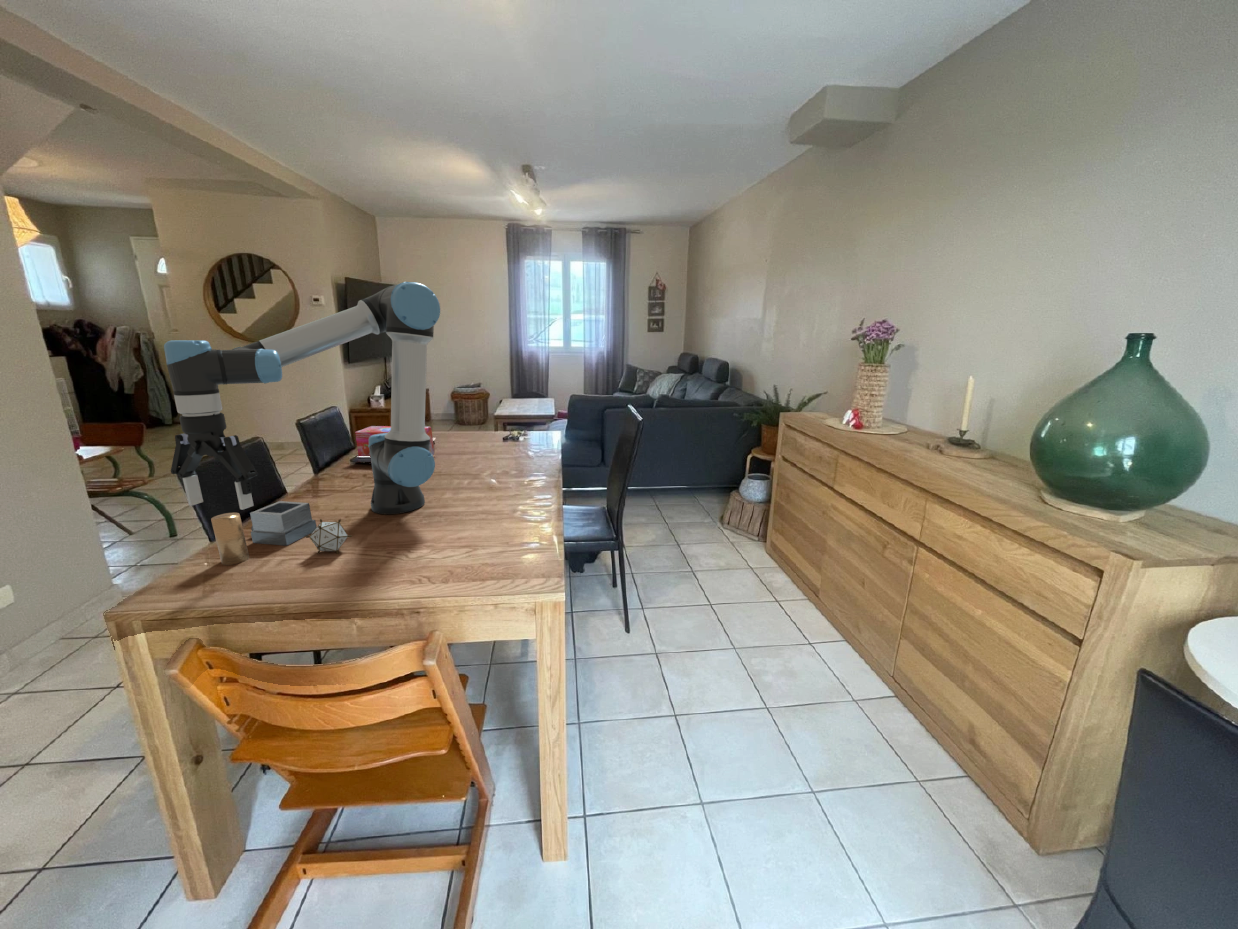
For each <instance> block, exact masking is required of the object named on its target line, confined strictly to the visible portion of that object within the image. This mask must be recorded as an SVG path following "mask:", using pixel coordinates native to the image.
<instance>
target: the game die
mask: <svg viewBox="0 0 1238 929" xmlns="http://www.w3.org/2000/svg"><path fill="white" fill-rule="evenodd" d="M341 521H342V519H341V518H340V519H338V521H323V519H322V518H319V524H318V525H316V526H317V528H316V529H315V530H314V531H313V532H312V533H311V534H309V535H307V536H305V537H304V538H306V539H308V538H309V539H310V541H311V542H312V543H313V545H314V546H315V548H316V549H317V550H318V551H317V552H316V554H317V555H318V554H320V553H321V552H335V553H336V554H337V555H339V554H340V552H339V550H340V548H341V547H342V546H343V544H344V543H345V542H346V540H348V538H351V537H353V535H351V534H349V535H348V533H347V531H346V530H345V528H344V527H343V525H342V524H341Z"/></svg>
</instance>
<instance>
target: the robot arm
mask: <svg viewBox="0 0 1238 929" xmlns="http://www.w3.org/2000/svg"><path fill="white" fill-rule="evenodd" d="M440 316H441V306H440V302H439V299H438V296H437V295H436V294H435V293H434V291H433V290H432V289H431V288H429V287H428V286H426V285H425V284H423V283H420V282H414V281H403V282H399V283H398V284H393V285H389V286H387V287H385V288H384V289H381V290H380V291H378V292H376V293H374V294H373V295H370V296H367V297H365V298H362V299H360V300H358V301H357V305H355V306H353V307H349V308H348V309H344V310H342V311H339V312H336V313H334V314H333V313H332V314H329V315H328V316H325V317H322V318H319V319H316V320H313V321H311V322H307V323H305V324H302V325H299V326H296V327H294V328H291V329H288V330H285V331H283V332H280V333H276V334H274V335H271V336H267V337H266V338H263V339H260V340H258V341H254V342H252V343H249V344H246V345H243V346H237V347H234V348H232V349H214V348H213V349H212V346H211V344H210V342H209V341H208V340H202V339H201V340H197V339H196V340H189V339H186V340H184V339H183V340H182V339H181V340H175V339H174V340H168V341H166V342H165V343H164V345H163V350H164V354H165V361H166V367H167V371H168V375H169V376H168V377H169V380H170V383H171V388H172V391H173V397H174V398H173V399H174V402H175V407H176V411H177V413H178V414H180V416H179V418H178V419H179V423H180V426H181V427H180V428H181V431H182V432H183V433H180V434H175V436H174V439H175V446H174V447H175V448H174V451H173V452H174V453H173V457H172V463H171V467H170V473H171V474H172V475H177V476H178V477H179V478H180V479H181V483H182V487H183V489H184V491H185V495H186V499H187V503H188V506H190V507H191V506H195V505H197V504H201V503H204V499H203V494H202V490H201V485H200V482H199V477H198V474H197V472H196V469H198V466H199V464H200V462H201V460H202V459H203V456H208V457H213V458H215V459H217V460H219V461H220V463H221V464H222V465H223V466H224V467H225V468H226V469H227V470H228V471H229V472H230V473H231V475H232V476H234V478H235V481H234V486H235V491H236V495H237V496H236V497H237V500H238V506H239V510H243V511H244V510H245V509H249V508H251V507H254V506H255V505H254V501H253V500H254V499H253V497H252V493H253V487H252V481H251V479H253V478H255V477H257V476H258V475H259V473H258V471H257V469H256V468H255V466H254V464H253V463H252V461H251V460H250V458H249V457H248V455H247V453H246V451H245V450H244V448H243V447H242V445H241V442H240V439H239V436H238V435H235V434H234V435H231V436H230V435H229V436H225V433H224V431H225V430H226V429H227V423H226V417H225V413H223V412H221V411H222V410H223V403H222V399H221V393H220V389H219V385H239V384H241V385H243V384H244V385H246V384H265V385H266V384H268V383H278V382H280V381H282V379H283V369H282V368H283V367H287V366H289V365H291V364H294V363H296V362H298V361H301V360H304V359H307V358H309V357H313V356H315V355H318V354H320V353H323V352H325V351H327V350H330V349H333V348H336V347H339V346H340V345H343V344H346V343H348V342H351V341H353V340H357V339H359V338H362V337H364V336H366V335H367V336H368V335H369V334H374V335H380V334H383V333H385V334H386V335H387V336H388V337H389V338H390V339H391V342H392V343H391V344H392V346H391V389H390V390H391V394H390V395H391V402H390V403H391V404H390V405H391V406H390V408H391V409H390V426H391V430H390V431H389V432H388V433H382V434H376V435H372V436H370V437H369V445H368V447H369V450H370V457H371V463H370V464H371V469H372V476H373V483H374V485H373V489H372V494H371V500H370V508H371V511H372V513H373V512H374V514H379V515H396V514H397V515H398V514H403V513H408V512H412V511H414V510H417V509H419V508H421V507H423V506H424V505H425V504H426V502H425V495H424V493H423V490H422V489H421V487H420V486H421V485H423V484H425V483H426V482H428V480H430V478H431V477H432V476H433V474H434V472H435V468H436V461H435V458H434V457H433V455H432V454H431V453H430V437H429V436H428V435H427V434H426V433H425V427H426V424H425V423H426V420H425V419H426V398H427V396H426V393H427V391H426V390H427V361H428V360H427V359H428V358H427V357H428V344H429V343H430V342H431V341H433V340H434V330H435V325H436V324H437V322H438V321H439V318H440Z"/></svg>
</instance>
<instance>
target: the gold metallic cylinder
mask: <svg viewBox="0 0 1238 929" xmlns="http://www.w3.org/2000/svg"><path fill="white" fill-rule="evenodd" d="M240 514H241V513H239V512H226V513H221V514H218V515H214V516H213V517H211V518H210V520H211V526H212V529H213V533H214V536H215V542H216V546H217V549H218V553H219V554H218V555H219V558H220V563H221V565H223V566H232V565H233V566H234V565H237V564H241V563H243V562H246V561H248V560H249V558H250V554H249V550H248V545H247V542H246V541H247V540H246V536H245V532H244V528H243V523H242V519H241V515H240Z"/></svg>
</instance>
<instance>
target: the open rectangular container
mask: <svg viewBox="0 0 1238 929" xmlns="http://www.w3.org/2000/svg"><path fill="white" fill-rule="evenodd" d="M311 511H312V510H311V506H310V502H299V501H286V500H285V501H283V500H278V501H277V502H275V503H271V504H268V505H266V506H264V507H261V508H259V509H257V510H255V511H251V512H249V514H250V519H251V524H252V526H251V529H250V530H251V531H250V536H251V539H252V541H251V542H252V543H253V544H261V545H262V544H263V545H275V546H276V545H277V546H289V545H291V544H293V543H295V542H297V541H299V540H302V539H304V538H306V537H305V536H310V535H311V534H312V532H313V531H314V530H315V529H316V528H317V526H318V525H317V522H316V519H313V517H312V513H311Z"/></svg>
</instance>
